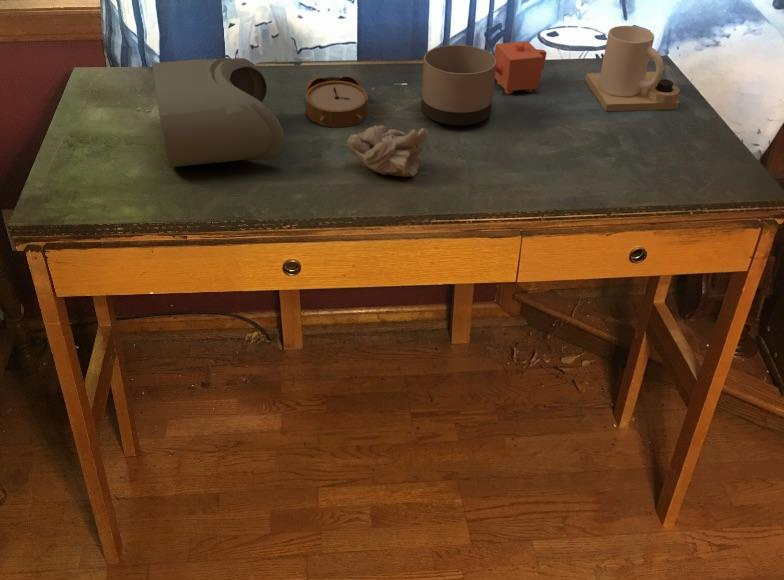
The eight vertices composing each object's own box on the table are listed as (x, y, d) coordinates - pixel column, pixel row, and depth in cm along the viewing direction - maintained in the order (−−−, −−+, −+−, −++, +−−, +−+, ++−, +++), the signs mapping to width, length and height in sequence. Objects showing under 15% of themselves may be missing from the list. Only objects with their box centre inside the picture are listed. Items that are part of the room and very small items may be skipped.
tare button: (673, 93, 161) (675, 85, 160) (659, 93, 160) (661, 85, 159) (668, 87, 163) (670, 79, 162) (654, 87, 162) (656, 79, 161)
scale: (680, 110, 162) (684, 94, 159) (606, 112, 160) (609, 96, 158) (654, 78, 172) (658, 63, 170) (585, 80, 171) (587, 65, 168)
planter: (498, 129, 154) (504, 72, 147) (428, 133, 153) (431, 75, 145) (481, 98, 163) (486, 43, 156) (415, 102, 162) (417, 46, 155)
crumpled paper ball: (427, 125, 134) (366, 91, 137) (394, 182, 136) (335, 147, 139) (441, 140, 142) (383, 107, 145) (410, 194, 143) (354, 160, 147)
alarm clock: (309, 114, 151) (300, 65, 159) (310, 138, 154) (300, 89, 163) (372, 111, 152) (359, 62, 161) (371, 134, 156) (359, 86, 165)
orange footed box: (476, 81, 169) (480, 39, 164) (533, 75, 172) (538, 33, 166) (490, 98, 164) (494, 54, 158) (548, 92, 166) (554, 49, 160)
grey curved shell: (162, 123, 154) (150, 51, 145) (267, 113, 157) (262, 42, 148) (171, 184, 138) (158, 107, 129) (287, 171, 142) (283, 96, 133)
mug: (667, 95, 163) (681, 40, 156) (643, 108, 159) (656, 52, 151) (613, 75, 169) (625, 22, 162) (589, 87, 165) (599, 33, 157)
